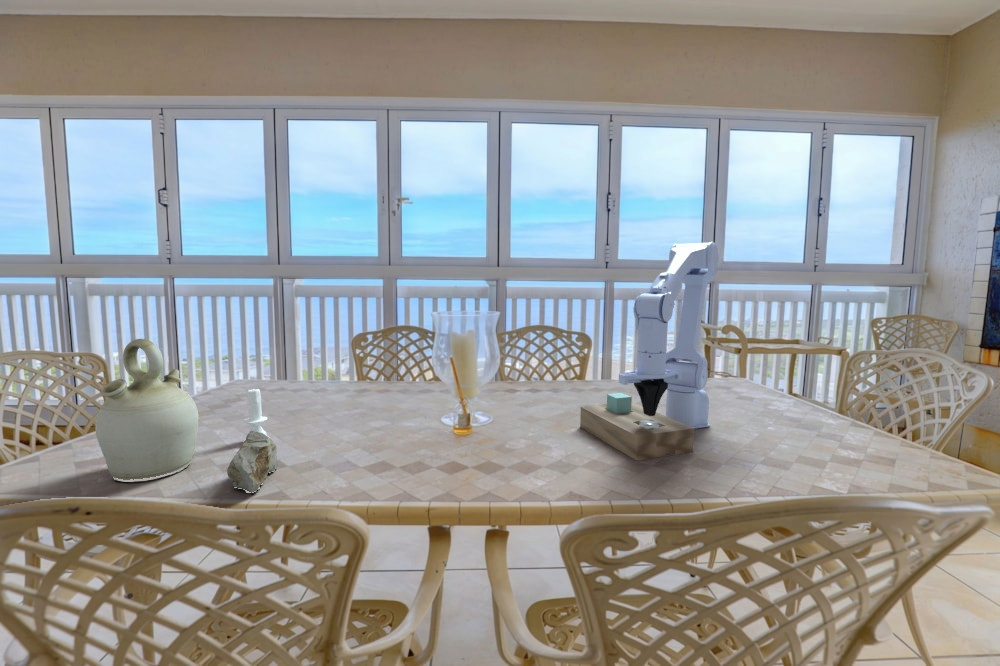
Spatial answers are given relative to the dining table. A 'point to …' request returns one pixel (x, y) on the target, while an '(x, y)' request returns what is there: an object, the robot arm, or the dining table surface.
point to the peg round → (648, 424)
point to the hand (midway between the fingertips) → (649, 414)
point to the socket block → (637, 432)
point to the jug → (146, 419)
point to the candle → (255, 411)
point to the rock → (253, 462)
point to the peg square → (619, 403)
